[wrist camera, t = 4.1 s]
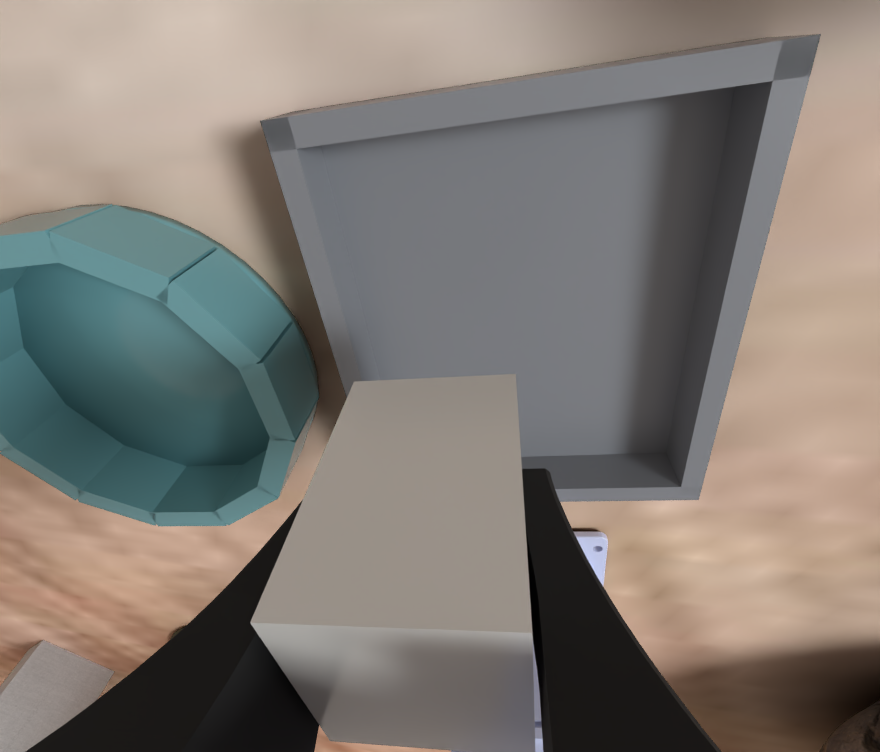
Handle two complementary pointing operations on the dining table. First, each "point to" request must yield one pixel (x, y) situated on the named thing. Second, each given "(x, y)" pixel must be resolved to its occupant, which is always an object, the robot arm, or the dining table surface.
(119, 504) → the bowl
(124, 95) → the dining table surface
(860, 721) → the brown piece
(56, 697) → the milk carton
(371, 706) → the gray rectangular block
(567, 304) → the parts tray
